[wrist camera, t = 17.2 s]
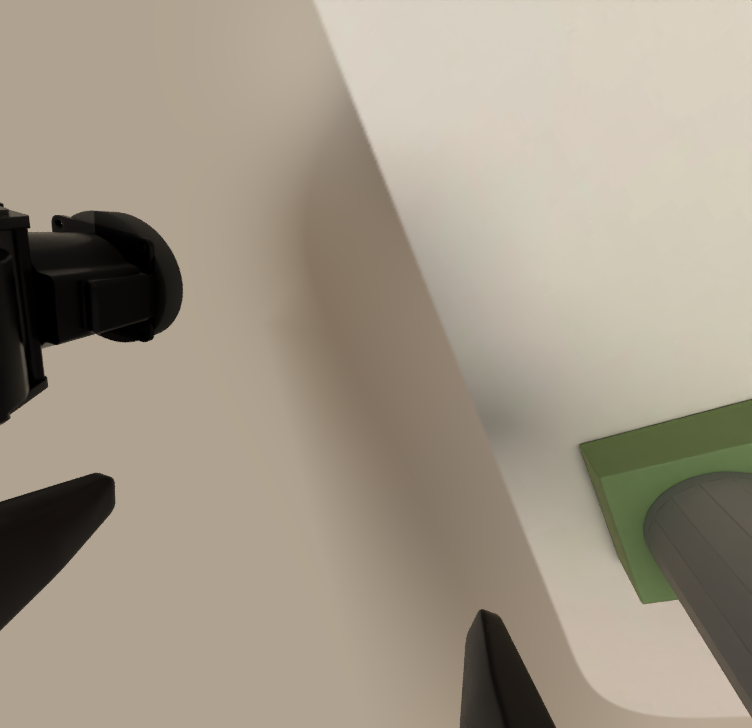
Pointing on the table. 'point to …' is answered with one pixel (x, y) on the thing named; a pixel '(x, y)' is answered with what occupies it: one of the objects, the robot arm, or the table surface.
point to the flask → (710, 564)
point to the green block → (661, 478)
